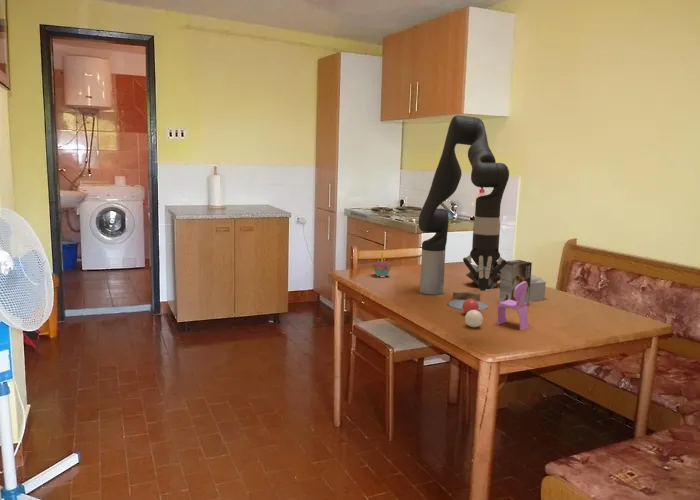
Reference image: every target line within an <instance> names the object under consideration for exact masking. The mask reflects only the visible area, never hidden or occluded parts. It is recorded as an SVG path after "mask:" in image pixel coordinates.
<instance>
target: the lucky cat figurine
mask: <svg viewBox="0 0 700 500" xmlns="http://www.w3.org/2000/svg"><path fill="white" fill-rule="evenodd" d="M497 262H498V260H497V261H496V262H495V263H494V264H493V266H491V269H490V272H491V271H492V270H493V269H494V268H495V267H496V266H497V265H498V263H497ZM473 268H474V269H475V271H477V272H478V266H477V267H473ZM484 272H485V266H483V277H484ZM465 276H466V277H468V278H469V279H470V280H472V282H474V284H477V285H478V277H476V276H474V275H473V274H472V273H471V271H470V270H469V272H468V273H465ZM500 280H501V270H500V271H499V272H498V273H497V275H496V276H495V277H490V278H489V280H488V289H494V288H496V286H497V283H498V282H500Z"/></svg>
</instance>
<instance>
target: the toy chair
mask: <svg viewBox="0 0 700 500" xmlns="http://www.w3.org/2000/svg"><path fill="white" fill-rule="evenodd" d="M527 287H528V284H527V282H526V281H524V282H521V283H520V284H518V285H517V286H516V287H515V289H514V294H513V297H515V298H516V299H517V301H513V300H509V299H508V300H506V301H503V302H500V303H499V302H498V305H497V308H496V311H497V312H496V314H497V315H496V316H497V318H496V325H497V326H498V325H501V324H503V323H506V322H508V319H507V316H506V308H509V309H512V310H516V312H517V314H518V318H519V331H523V330H525V329H528V328H530V323H529V320H528V310H529V309H528V305H527V303H524V298H525V293H526V290H527Z"/></svg>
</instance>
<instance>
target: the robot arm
mask: <svg viewBox="0 0 700 500" xmlns="http://www.w3.org/2000/svg"><path fill="white" fill-rule="evenodd" d="M457 145H465V146H469V148H468V150H467V157H468V162H469V163H470V165H471V171H470V172H471V173H470V181H471V183H472V184H473V186H475V187H477V188H493V189H492V190H491V192H490V193H488V194H486V195H480V196H478V197H477V198H476V199H475V207H474V208H475V209H474V221H473V227H472V243H471V245H472V246H471V250H470V252H469V255H467V256H466V257H463V258H462V261H463V263H464V264H465V266H466V267H467V268H468V270H469V272H470V271H471V273H472V274H473V275H474V276H476V277H478V284H477V288H478V289H479V291H480V292H486V290H488V289H489V288H488V280H489V278H490V277H495V276H496V275H497V273H498V272H499V271H500V270H501V269H502V268H503V267H504V266H505V265H506V263H507V262H506V261H507V260H505V259H504V258H503V257H501V254H500V252H499V250H500V249H499V248H500V247H499V246H500V232H501V231H500V230H501V220H500V219H501V218H500V217H501V205H502V204H501V203H502V199H503V196H504V192H505V190H506V187H507V185H508V182H509V177H510V170H509V168H508V166H507V165H506V164H505V163H502V162H496V159H495V156H494V154H493V152H492V149H490V146H489V142H488V135H487V131H486V126H485V124H484V121H483V120H482V119H481V118H479V117H476V116H469V115H458V114H456V115H454V116H453V117H452V118H451V120H450V122H449V125H448V129H447V133H446V137H445V140H444V145H443V149H442V152H441V156H440V159H439V162H438V165H437V166H436V170H435V172H434V175H433V179H432V182H431V185H430V188H429V192H428V195H427V197H426V200H425V202H424V204H423V206H422V208H421V210H420V213H419V217H418V222H417V223H418V228H419V230H420V231H421V232H423V233H435V234H434V236H432V237H430V238H429V239H426V240H424V241H423V242H422V243H421V258H420V259H421V261H420V280H419V294H425V295H442V294H443V293H444V287H445V286H444V283H445V281H444V280H445V264H446V246H447V242H448V233H449V220H450V219H449V218H450V217H449V213H448V211H447V209H445V208H438V207H440V205H441V204H443V203H444V202H445V201H447V199H449V198H450V197H451V196H452V195H454V194H455V192H456V190H457V189H458V187H459V184H460V181H461V179H462V168H461V165H460V163H459V161H458V157H457V155H456V150H455V149H456V146H457ZM472 260H473V261H472ZM496 261H498V262H497V263H498V265H497V266H496V267H495V268H494V269H493V270H492V271H491V272H490V269H491V266H493V264H494V263H495V262H496ZM472 262H474V264H475V266H477V267H478V272H477V271H475V269H474V268H475V267H474V266H473V265H472ZM483 266H485V272H484V277H483Z"/></svg>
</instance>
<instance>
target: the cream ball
mask: <svg viewBox="0 0 700 500" xmlns="http://www.w3.org/2000/svg"><path fill="white" fill-rule="evenodd" d="M464 321H465V324H467V326H469V327H471V328H478V327H479V326H481V325H482V323H483V321H484V319H483V314H482V313H481V312H480V310H479V311H477V310H470V311H468V312H467V314H466V313H465V316H464Z"/></svg>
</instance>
